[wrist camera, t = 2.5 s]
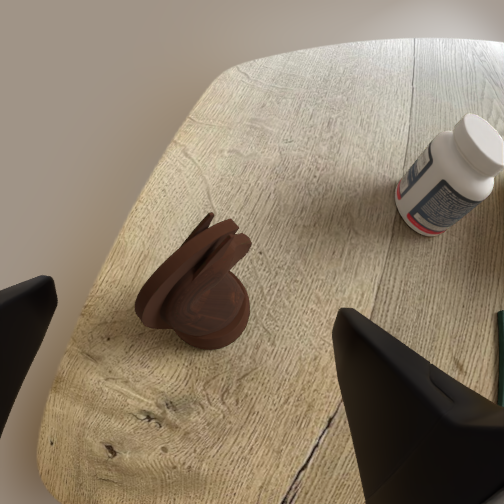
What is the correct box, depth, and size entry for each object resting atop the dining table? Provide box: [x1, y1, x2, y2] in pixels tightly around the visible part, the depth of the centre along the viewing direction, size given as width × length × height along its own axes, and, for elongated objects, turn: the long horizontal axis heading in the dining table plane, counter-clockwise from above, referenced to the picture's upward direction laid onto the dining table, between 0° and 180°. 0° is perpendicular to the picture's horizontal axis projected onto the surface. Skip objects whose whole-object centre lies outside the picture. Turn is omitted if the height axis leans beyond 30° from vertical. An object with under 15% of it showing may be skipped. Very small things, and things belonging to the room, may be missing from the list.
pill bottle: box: [395, 113, 504, 236], centre depth 18 cm, size 5×5×9 cm
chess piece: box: [135, 212, 252, 350], centre depth 13 cm, size 5×5×10 cm
